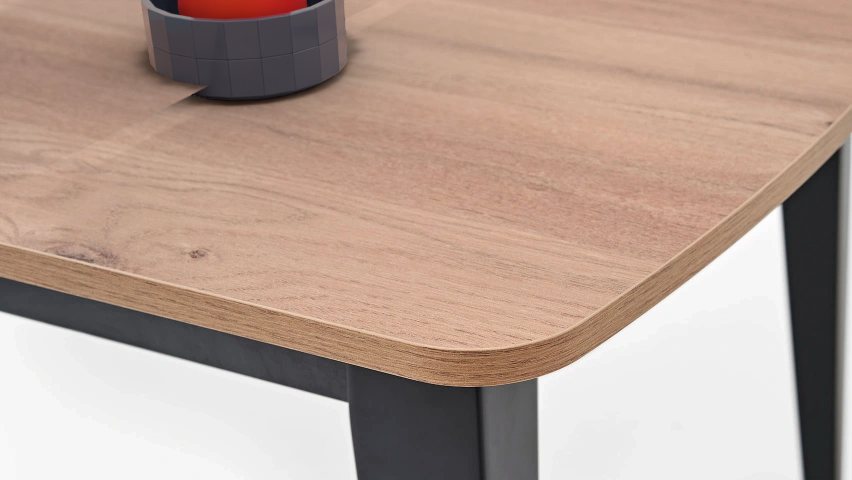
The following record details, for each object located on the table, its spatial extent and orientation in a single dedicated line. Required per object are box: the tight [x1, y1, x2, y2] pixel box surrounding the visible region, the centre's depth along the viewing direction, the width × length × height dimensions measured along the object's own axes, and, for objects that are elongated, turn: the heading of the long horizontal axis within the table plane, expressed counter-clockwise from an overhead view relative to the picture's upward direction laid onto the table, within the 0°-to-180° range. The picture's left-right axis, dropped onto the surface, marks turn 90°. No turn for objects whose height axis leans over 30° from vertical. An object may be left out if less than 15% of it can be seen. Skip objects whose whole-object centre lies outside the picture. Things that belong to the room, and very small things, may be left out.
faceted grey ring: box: [140, 0, 348, 101], centre depth 88 cm, size 14×14×6 cm
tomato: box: [178, 0, 307, 19], centre depth 88 cm, size 9×10×8 cm
